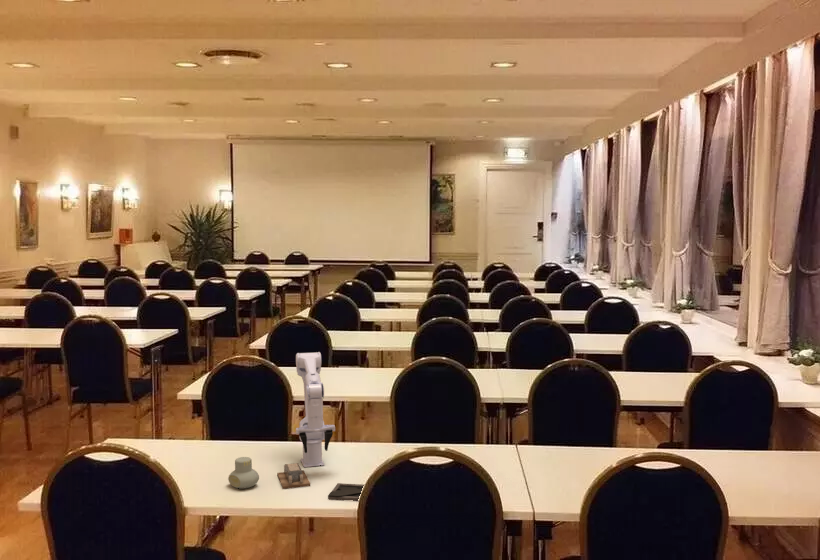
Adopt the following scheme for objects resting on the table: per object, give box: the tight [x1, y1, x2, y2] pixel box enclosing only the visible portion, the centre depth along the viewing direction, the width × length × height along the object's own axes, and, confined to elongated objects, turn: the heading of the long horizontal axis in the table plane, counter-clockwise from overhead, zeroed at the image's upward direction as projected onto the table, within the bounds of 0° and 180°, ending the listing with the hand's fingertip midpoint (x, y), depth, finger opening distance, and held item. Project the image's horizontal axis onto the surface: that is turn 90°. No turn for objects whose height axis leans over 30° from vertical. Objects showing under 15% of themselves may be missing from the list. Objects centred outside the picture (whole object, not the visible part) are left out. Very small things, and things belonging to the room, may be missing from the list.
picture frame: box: [327, 482, 365, 502], centre depth 280 cm, size 13×2×18 cm
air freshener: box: [227, 456, 260, 490], centre depth 288 cm, size 11×8×10 cm
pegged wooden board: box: [277, 464, 311, 490], centre depth 293 cm, size 15×10×4 cm, turn 17°
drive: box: [284, 462, 303, 483], centre depth 293 cm, size 9×5×4 cm, turn 17°
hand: (315, 451), depth 298 cm, fingers open, 7 cm apart
